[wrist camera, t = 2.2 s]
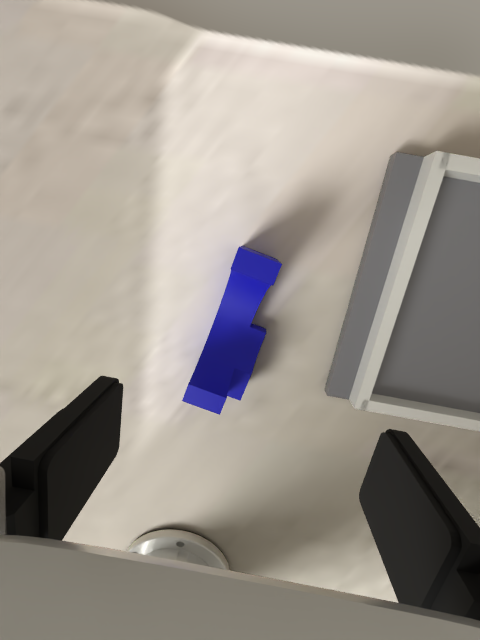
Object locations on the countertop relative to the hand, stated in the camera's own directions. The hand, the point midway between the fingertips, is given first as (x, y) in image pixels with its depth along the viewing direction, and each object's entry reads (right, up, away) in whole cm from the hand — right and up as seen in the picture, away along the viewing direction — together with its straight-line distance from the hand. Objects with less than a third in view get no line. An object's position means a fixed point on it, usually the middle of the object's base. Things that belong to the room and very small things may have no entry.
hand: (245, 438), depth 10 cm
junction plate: (+22, +5, +14) cm, 27 cm away
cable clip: (0, +4, +16) cm, 17 cm away
